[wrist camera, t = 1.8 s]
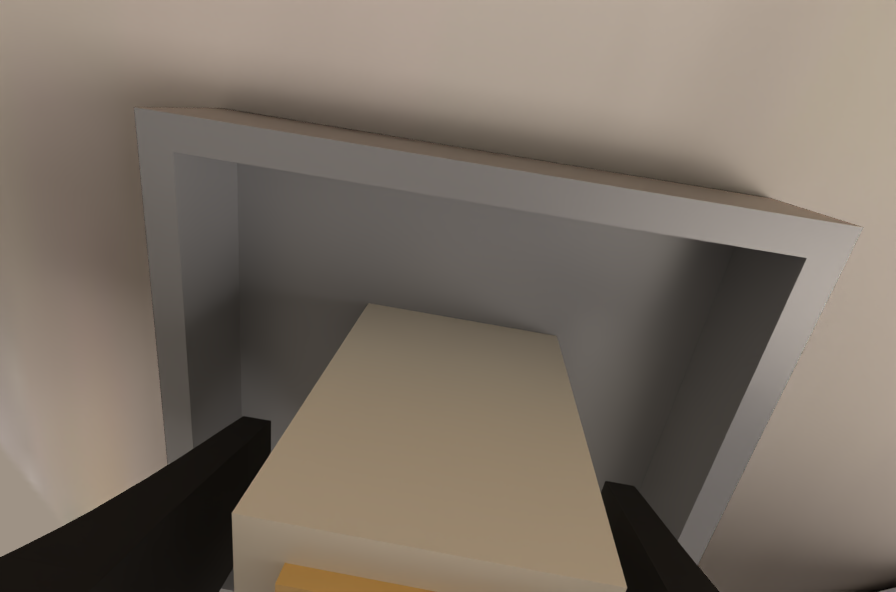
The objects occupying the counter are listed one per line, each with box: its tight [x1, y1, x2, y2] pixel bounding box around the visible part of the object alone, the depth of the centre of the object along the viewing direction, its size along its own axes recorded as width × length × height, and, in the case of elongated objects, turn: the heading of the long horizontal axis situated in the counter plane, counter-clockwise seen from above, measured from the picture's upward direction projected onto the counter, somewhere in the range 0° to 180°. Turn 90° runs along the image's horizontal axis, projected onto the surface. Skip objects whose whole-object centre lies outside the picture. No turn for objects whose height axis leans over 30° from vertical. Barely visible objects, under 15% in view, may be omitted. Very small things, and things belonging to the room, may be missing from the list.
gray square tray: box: [134, 107, 864, 592], centre depth 12 cm, size 13×13×3 cm
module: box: [232, 303, 627, 592], centre depth 10 cm, size 5×5×7 cm
